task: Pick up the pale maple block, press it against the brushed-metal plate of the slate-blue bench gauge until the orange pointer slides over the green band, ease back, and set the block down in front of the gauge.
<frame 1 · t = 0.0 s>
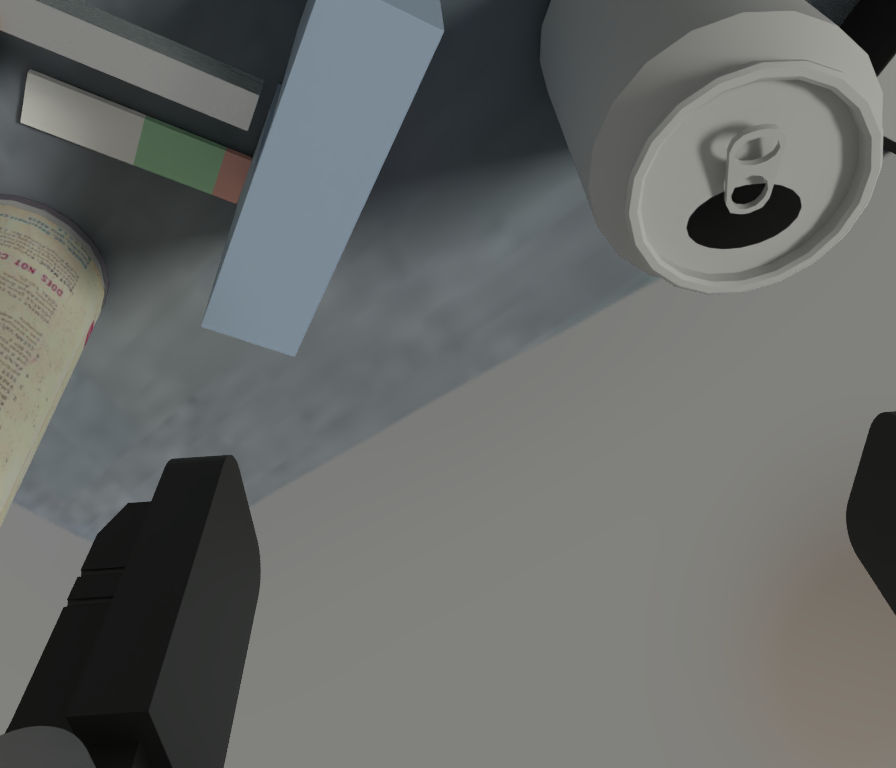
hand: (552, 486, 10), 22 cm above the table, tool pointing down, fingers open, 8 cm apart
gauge: (203, 17, 27), on the table
can: (639, 29, 28), on the table
aerosol can: (24, 265, 34), on the table
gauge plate: (107, 22, 24), point 4 cm above the table, slide at 0.0 cm
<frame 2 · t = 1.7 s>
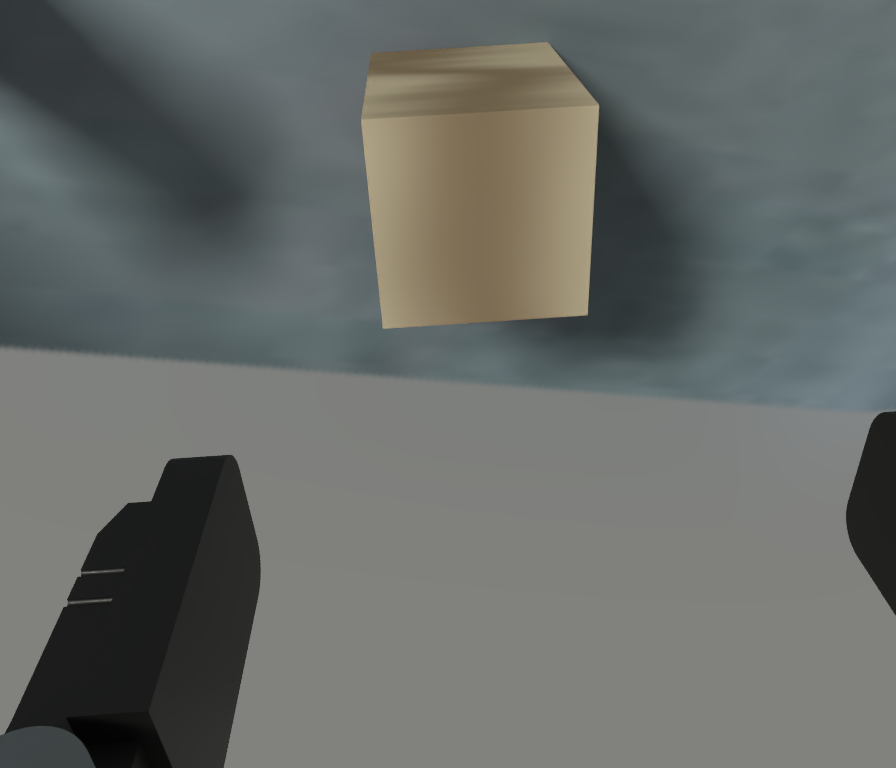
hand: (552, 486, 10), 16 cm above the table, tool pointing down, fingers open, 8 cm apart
maple block: (462, 136, 24), on the table
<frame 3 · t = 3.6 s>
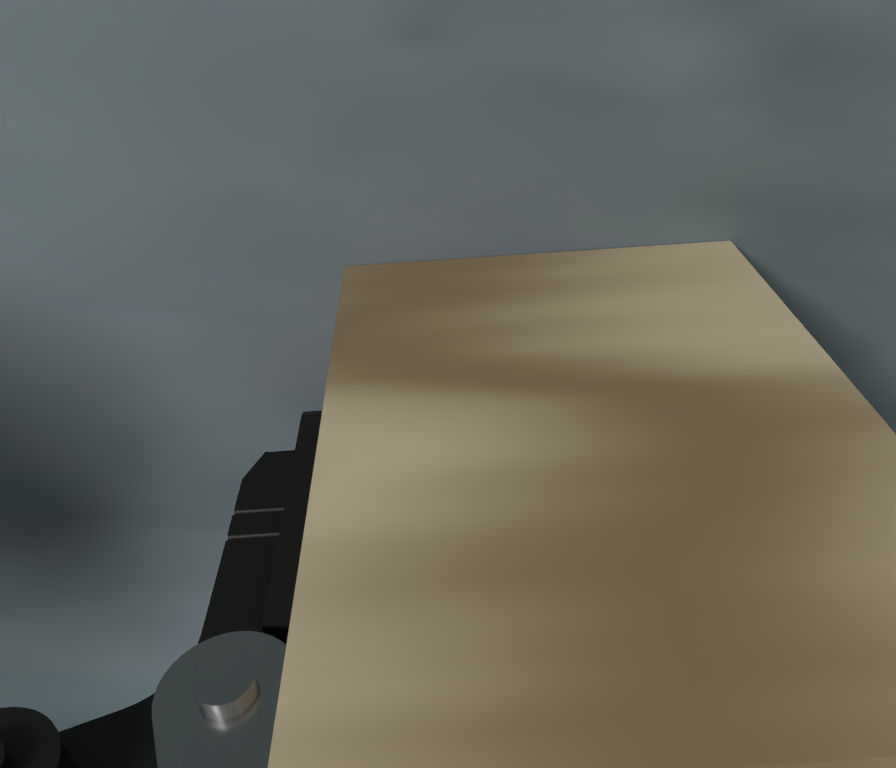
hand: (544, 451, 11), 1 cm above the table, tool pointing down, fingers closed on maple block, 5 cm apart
maple block: (536, 411, 12), on the table, touching gripper
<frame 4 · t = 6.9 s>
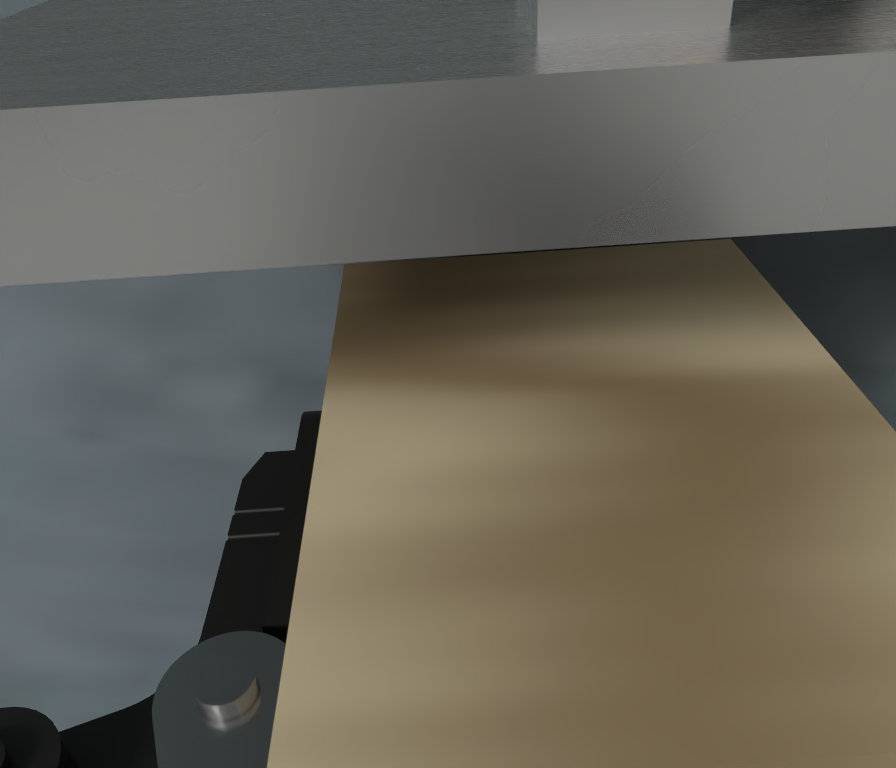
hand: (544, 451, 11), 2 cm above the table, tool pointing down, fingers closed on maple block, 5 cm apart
maple block: (536, 409, 12), point 1 cm above the table, touching gripper
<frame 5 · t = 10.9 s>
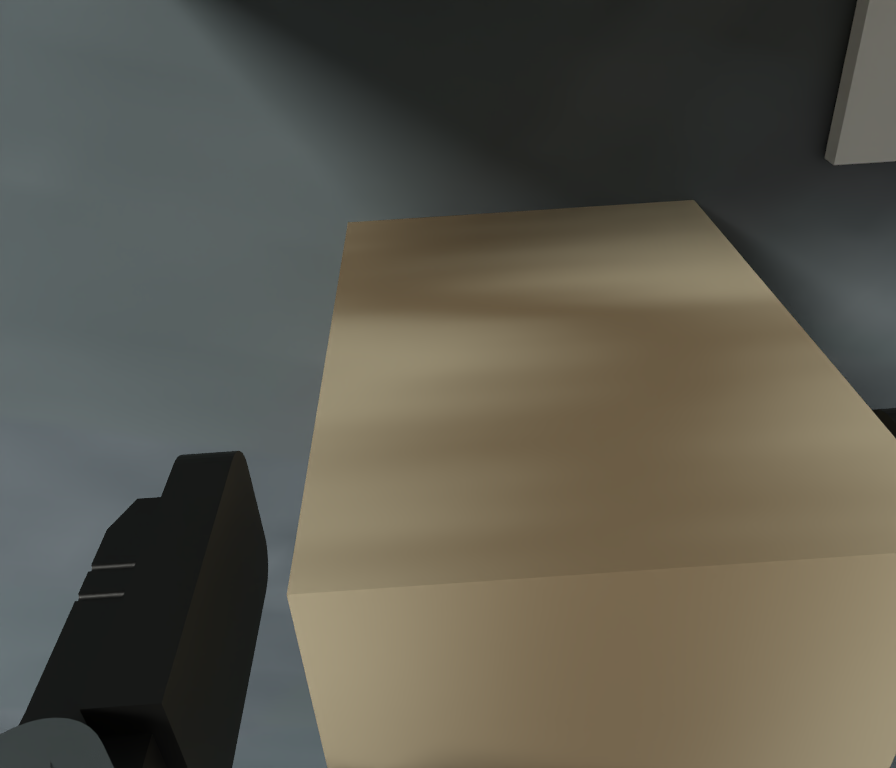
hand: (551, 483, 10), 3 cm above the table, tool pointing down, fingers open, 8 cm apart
maple block: (521, 357, 13), on the table
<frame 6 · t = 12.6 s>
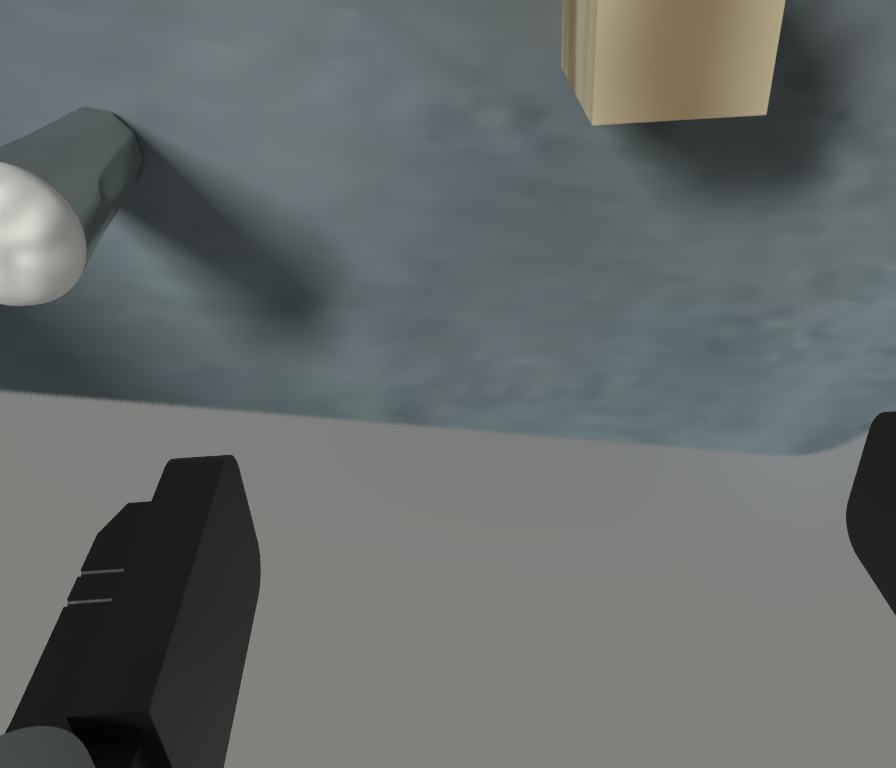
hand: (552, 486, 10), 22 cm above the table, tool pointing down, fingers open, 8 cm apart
milkshake: (97, 137, 30), on the table
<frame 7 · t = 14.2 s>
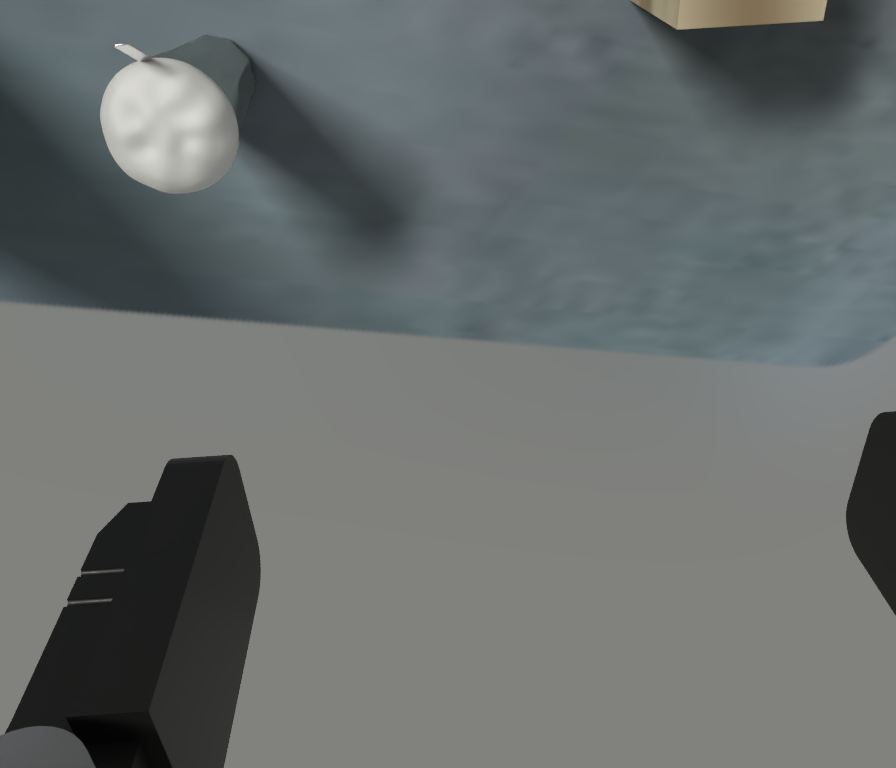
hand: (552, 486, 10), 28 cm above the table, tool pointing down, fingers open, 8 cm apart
milkshake: (215, 64, 34), on the table
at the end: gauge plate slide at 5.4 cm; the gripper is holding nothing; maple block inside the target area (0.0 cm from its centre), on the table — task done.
